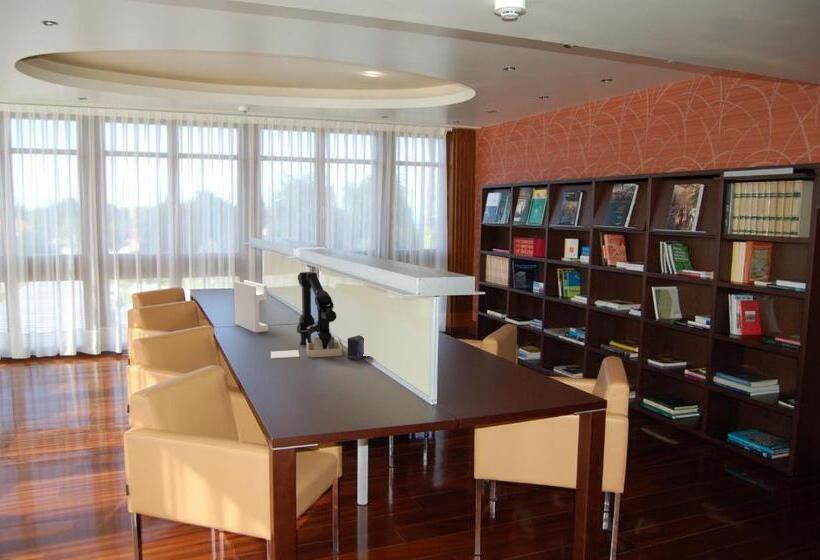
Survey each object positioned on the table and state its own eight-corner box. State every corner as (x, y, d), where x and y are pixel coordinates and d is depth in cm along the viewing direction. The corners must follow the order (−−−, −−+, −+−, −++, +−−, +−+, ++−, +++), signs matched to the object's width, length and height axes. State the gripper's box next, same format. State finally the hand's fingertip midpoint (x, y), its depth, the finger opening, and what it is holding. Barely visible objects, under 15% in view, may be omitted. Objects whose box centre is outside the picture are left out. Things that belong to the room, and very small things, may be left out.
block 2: (314, 352, 329) (313, 336, 328) (333, 351, 331) (333, 335, 330) (314, 354, 324) (314, 338, 323) (334, 353, 326) (334, 337, 325)
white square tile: (270, 352, 329) (270, 351, 329) (298, 351, 332) (298, 350, 332) (270, 358, 315) (270, 357, 315) (299, 357, 318) (299, 356, 318)
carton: (306, 349, 334) (306, 338, 333) (339, 348, 338) (339, 336, 337) (308, 357, 317) (307, 345, 317) (343, 355, 321) (342, 343, 320)
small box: (356, 360, 310) (356, 339, 309) (347, 358, 314) (346, 338, 313) (371, 356, 319) (370, 335, 317) (361, 354, 322) (360, 334, 321)
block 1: (235, 323, 410) (233, 280, 407) (247, 322, 414) (245, 279, 411) (255, 332, 381) (253, 286, 378) (268, 330, 386) (266, 285, 383)
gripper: (306, 316, 333) (307, 345, 335) (308, 322, 315) (309, 353, 317) (327, 315, 335) (328, 344, 337) (331, 321, 317) (331, 352, 319)
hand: (324, 348), depth 327 cm, fingers closed on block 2, 5 cm apart
